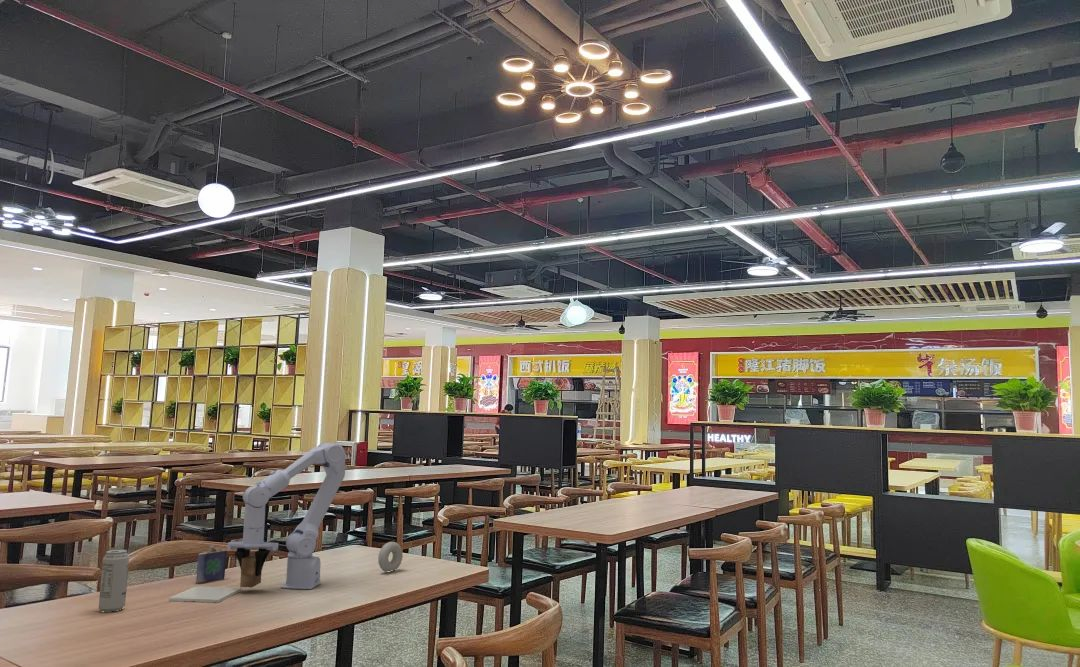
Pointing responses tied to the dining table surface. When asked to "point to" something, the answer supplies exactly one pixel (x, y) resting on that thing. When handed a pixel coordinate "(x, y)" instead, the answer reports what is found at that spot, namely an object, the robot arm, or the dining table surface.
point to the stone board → (205, 594)
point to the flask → (211, 565)
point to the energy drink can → (114, 580)
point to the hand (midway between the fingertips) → (251, 575)
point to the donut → (384, 555)
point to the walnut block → (249, 572)
